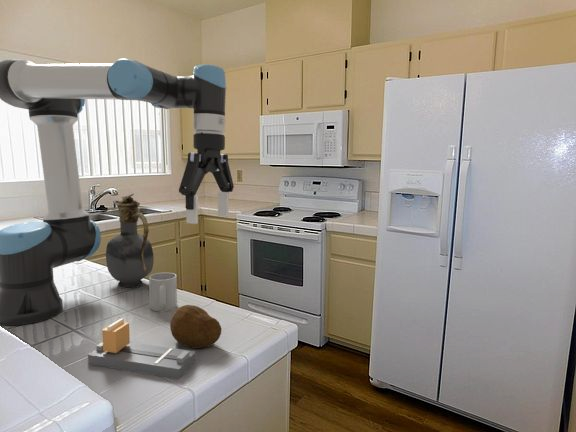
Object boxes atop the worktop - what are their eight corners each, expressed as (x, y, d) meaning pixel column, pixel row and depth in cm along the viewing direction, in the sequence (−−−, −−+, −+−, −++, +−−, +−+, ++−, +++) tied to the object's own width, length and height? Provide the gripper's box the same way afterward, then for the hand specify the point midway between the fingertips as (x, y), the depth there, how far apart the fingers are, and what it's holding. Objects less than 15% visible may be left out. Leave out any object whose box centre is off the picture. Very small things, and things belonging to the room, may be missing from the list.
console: (88, 364, 77) (87, 350, 77) (111, 347, 84) (110, 334, 83) (179, 378, 73) (179, 364, 72) (195, 360, 80) (195, 347, 79)
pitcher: (134, 276, 134) (132, 190, 130) (164, 289, 122) (162, 195, 117) (103, 283, 126) (99, 192, 122) (131, 297, 114) (128, 197, 109)
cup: (177, 301, 112) (176, 271, 111) (176, 314, 103) (176, 282, 101) (150, 303, 110) (150, 273, 109) (148, 317, 101) (147, 284, 99)
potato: (192, 360, 80) (191, 320, 78) (161, 341, 88) (160, 305, 86) (224, 346, 86) (224, 309, 85) (192, 330, 94) (192, 295, 93)
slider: (103, 351, 78) (101, 326, 77) (117, 341, 82) (116, 317, 81) (116, 353, 77) (115, 327, 76) (129, 343, 81) (128, 319, 80)
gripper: (190, 129, 80) (190, 228, 84) (247, 137, 103) (245, 214, 106) (162, 128, 83) (162, 225, 86) (223, 136, 106) (222, 212, 109)
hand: (208, 219), depth 96 cm, fingers open, 13 cm apart
